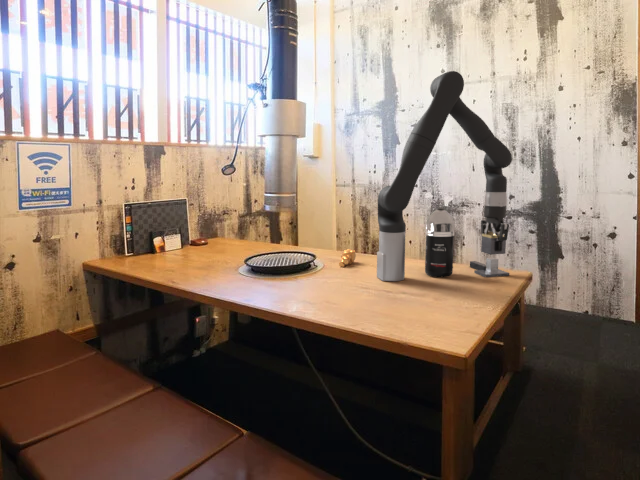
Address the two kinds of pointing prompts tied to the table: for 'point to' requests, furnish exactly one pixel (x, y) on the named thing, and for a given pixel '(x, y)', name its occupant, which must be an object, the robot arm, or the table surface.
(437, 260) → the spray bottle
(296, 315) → the table surface
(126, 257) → the table surface
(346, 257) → the figurine
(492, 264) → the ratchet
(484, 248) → the khaki matte cube
